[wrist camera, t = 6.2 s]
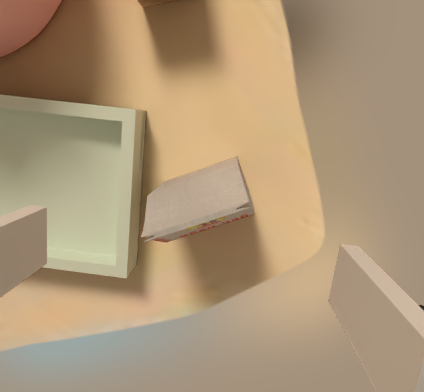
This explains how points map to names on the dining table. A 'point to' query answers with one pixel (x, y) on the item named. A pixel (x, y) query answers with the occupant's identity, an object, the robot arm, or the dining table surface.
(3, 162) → the tray
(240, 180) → the tea bag
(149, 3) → the oak block
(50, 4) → the cake
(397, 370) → the robot arm
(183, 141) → the dining table surface
